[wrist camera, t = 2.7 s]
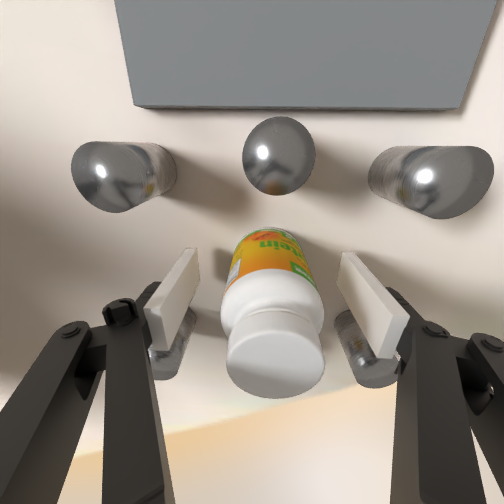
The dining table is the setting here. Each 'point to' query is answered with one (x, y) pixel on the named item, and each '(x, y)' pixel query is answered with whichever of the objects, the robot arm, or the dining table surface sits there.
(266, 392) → the supplement bottle
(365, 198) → the dining table surface
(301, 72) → the slate mat
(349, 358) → the spacer field
